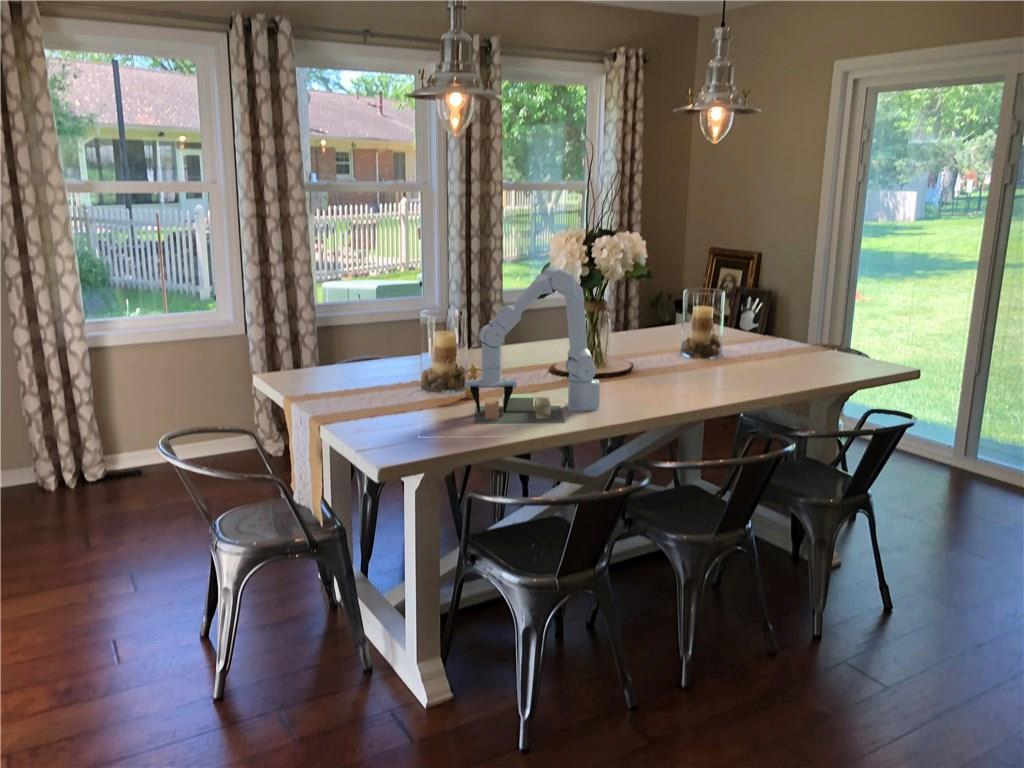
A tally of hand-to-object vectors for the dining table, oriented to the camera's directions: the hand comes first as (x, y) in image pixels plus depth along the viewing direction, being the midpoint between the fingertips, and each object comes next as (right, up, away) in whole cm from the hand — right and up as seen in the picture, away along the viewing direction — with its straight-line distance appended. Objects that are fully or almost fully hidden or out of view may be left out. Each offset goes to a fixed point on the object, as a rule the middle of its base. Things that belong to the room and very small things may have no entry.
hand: (491, 411), depth 246 cm
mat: (+8, -1, +1) cm, 8 cm away
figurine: (-7, +3, +18) cm, 19 cm away
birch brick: (+15, -1, +1) cm, 15 cm away
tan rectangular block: (0, -1, 0) cm, 1 cm away
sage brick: (+8, +1, +6) cm, 10 cm away
